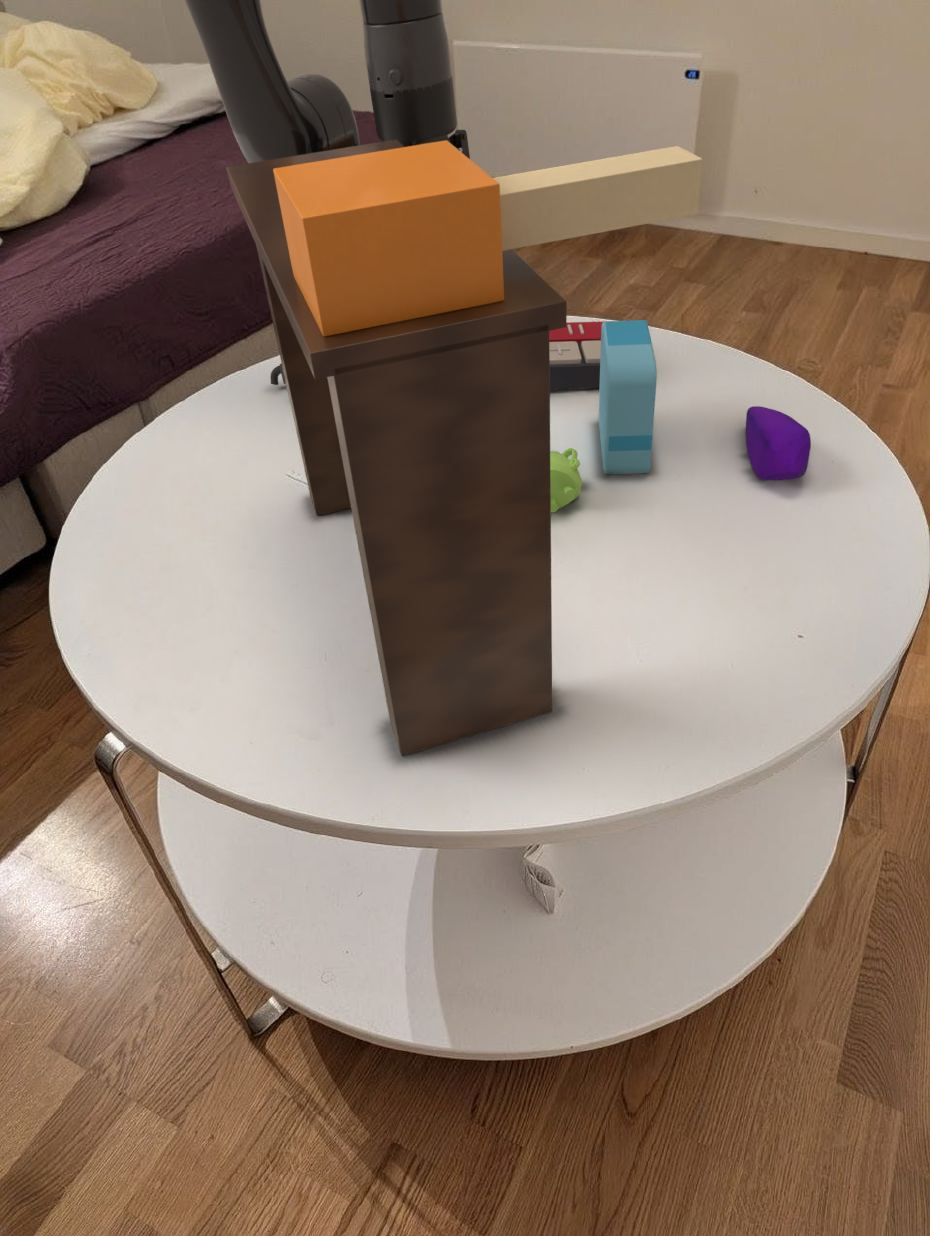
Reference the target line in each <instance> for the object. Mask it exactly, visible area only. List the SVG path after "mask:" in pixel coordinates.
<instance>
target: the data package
mask: <svg viewBox="0 0 930 1236" xmlns="http://www.w3.org/2000/svg"><path fill="white" fill-rule="evenodd" d="M606 321H607V320H606ZM657 371H658V369H657V361H656V356H655V352H654V347H653V343H652V337H651V334H650V327H649V323H648V321H647V320H646V319H635V320H634V319H633V320H632V319H631V320H608V321H607V322H603V323H602V327H601V356H600V388H598V389H599V391H598V428H599V438H600V450H601V458H602V468H603V473H604V474H605V475H611V474H612V475H613V474H614V475H617V474H618V475H619V474H647V473H649V472H650V469H651V462H652V461H651V460H652V449H653V434H654V421H655V407H656V397H657V396H656V395H657V382H658V378H657V377H658V376H657V375H658V374H657V373H658V372H657Z"/></svg>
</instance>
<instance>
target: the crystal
mask: <svg viewBox="0 0 930 1236" xmlns="http://www.w3.org/2000/svg"><path fill="white" fill-rule="evenodd" d="M745 440H746V451H747V455H748V459H749V463H750V466H751V468H752V470H753V472H754V473H755V475H756V476H757V478H758V479H759V480H763V481H790V480H795V479H799V478H802V477H803V476H805V474H806V472H807V469H808V467H809V460H810V454H811V448H812V447H811V446H812V441H811V434H810V432H809V430H808V429H807V427H805V426H804V425H803V424H801V423H799V422H798V421H797V420H795V419H794V418H793V417H792V416H790V415H788V414H786V413H784V412H782V411H779V410H777V409H773V408H769V407H766V406H760V405H753V406H750V407H749V408H747V410H746V417H745Z"/></svg>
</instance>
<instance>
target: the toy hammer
mask: <svg viewBox="0 0 930 1236" xmlns="http://www.w3.org/2000/svg"><path fill="white" fill-rule="evenodd" d="M703 162H704V159H703V158H702V157H701V156H699V155H696V154H695V153H692V152H691V151H688V150H686V149H685V148H683V147H680V146H679V145H675V146H669V147H663V148H657V149H651V150H645V151H639V152H634V153H628V154H623V155H617V156H610V157H606V158H605V157H604V158H600V159H593V160H588V161H583V162H582V161H581V162H577V163H570V164H565V165H560V166H553V167H547V168H541V169H537V170H530V171H524V172H519V173H513V174H508V175H502V176H495V177H492V176H491V175H489V173H487V172H486V171H485V170H483V169H482V168H481V167H479V165H477V164H476V163H475V162H474V161H473V160H472V159H471V158H470V159H469V158H468V157H466V156H465V155H464V154H463V153H462V152H460V151H459V150H458V149H457V148H455V147H454V146H453V145H452V144H451V143H449V142H448V141H447V140H445V141H439V142H433V143H427V144H421V145H415V146H408V147H402V148H396V149H390V150H384V151H378V152H372V153H366V154H360V155H353V156H347V157H341V158H335V159H329V160H323V161H317V162H311V163H305V164H298V165H292V166H286V167H280V168H274V169H273V172H274V177H275V182H276V187H277V192H278V198H279V203H280V208H281V213H282V218H283V223H284V229H285V234H286V239H287V244H288V249H289V254H290V260H291V265H292V270H293V275H294V278H295V280H296V282H297V284H298V286H299V288H300V290H301V292H302V294H303V296H304V298H305V300H306V302H307V304H308V306H309V308H310V310H311V312H312V314H313V317H314V319H315V321H316V323H317V325H318V327H319V329H320V331H321V333H322V335H323V336H324V337H326V336H331V335H336V334H341V333H346V332H351V331H356V330H361V329H366V328H371V327H376V326H381V325H386V324H391V323H396V322H401V321H406V320H411V319H416V318H421V317H426V316H431V315H436V314H441V313H446V312H451V311H456V310H461V309H466V308H471V307H476V306H481V305H486V304H491V303H496V302H501V301H504V280H503V255H502V251H506V250H511V249H512V250H517V249H520V248H527V247H531V246H537V245H541V244H548V243H552V242H557V241H558V242H559V241H563V240H569V239H573V238H579V237H584V236H590V235H595V234H599V233H606V232H610V231H615V230H623V229H627V228H631V227H637V226H642V225H648V224H654V223H658V222H663V221H667V220H668V221H669V220H673V219H679V218H685V217H689V216H694V215H698V213H699V203H700V193H701V182H702V175H703V174H702V171H703Z"/></svg>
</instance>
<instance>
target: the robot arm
mask: <svg viewBox="0 0 930 1236" xmlns="http://www.w3.org/2000/svg"><path fill="white" fill-rule="evenodd" d="M183 1H184V3H185V6H186V8H187V10H188V13H189V15H190V18H191V20H192V22H193V25H194V27H195V29H196V32H197V34H198V37H199V39H200V42H201V45H202V48H203V50H204V53H205V55H206V58H207V60H208V61H207V62H208V64H209V67H210V70H211V72H212V75H213V79H214V81H215V84H216V88H217V90H218V93H219V96H220V100H221V102H222V105H223V108H224V111H225V113H226V117H227V119H228V122H229V125H230V128H231V131H232V134H233V137H234V139H235V141H236V144H237V146H238V149H239V151H240V154H241V156H242V158H243V160H244V161H245V164H248V163H254V162H260V161H266V160H273V159H279V158H285V157H291V156H297V155H304V154H310V153H316V152H322V151H328V150H334V149H341V148H347V147H353V146H359V145H361V141H360V135H359V129H358V125H357V120H356V117H355V114H354V111H353V108H352V106H351V103H350V101H349V99H348V98H347V96H346V94H345V92H344V91H343V90H342V88H340V86H339V85H338V84H337V83H336V82H335V81H334V80H332V79H331V78H329V77H327V76H325V75H324V74H323V75H322V74H320V73H314V72H308V73H302V74H299V75H295V76H293V77H290V78H288V79H287V78H286V75H285V74H284V71H283V69H282V67H281V65H280V62H279V59H278V57H277V54H276V52H275V49H274V46H273V44H272V42H271V39H270V36H269V35H270V34H269V32H268V29H267V27H266V26H267V25H266V22H265V17H264V13H263V7H262V0H183ZM358 1H359V8H360V15H361V21H362V31H363V49H364V50H363V51H364V61H365V67H366V72H367V79H368V85H369V92H370V98H371V99H370V100H371V105H372V111H373V112H372V113H373V117H374V119H373V120H374V125H375V131H376V132H375V133H376V136H377V137H378V139H379V140H380V141H381V142H384V141H390V140H398V141H399V142H400V143H401V144H402V145H403V146H404V147H408V146H415V145H421V144H427V143H433V142H439V141H445V140H447V141H448V142H449V143H451V144H452V145H453V146H454V147H455V148H457V149H458V150H459V151H460V152H462V153H463V154H464V155H465V156H466V157H468V158H469V159H470V160H471V155H470V148H469V147H470V146H469V139H468V132H467V131H466V129H457V127H458V126H457V125H458V119H457V110H456V99H455V91H454V90H455V89H454V81H453V71H452V61H451V60H452V59H451V52H450V44H449V43H450V41H449V37H448V33H447V28H446V24H445V18H444V13H443V3H442V2H443V1H442V0H358ZM280 375H281V379H282V383H283V385H286V381H285V376H284V372H283V367H282V363H281V362H280V363H279V365H277V366H275V367H273V369H272V370H271V372H270V385H272V386H278V385H279V376H280Z"/></svg>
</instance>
